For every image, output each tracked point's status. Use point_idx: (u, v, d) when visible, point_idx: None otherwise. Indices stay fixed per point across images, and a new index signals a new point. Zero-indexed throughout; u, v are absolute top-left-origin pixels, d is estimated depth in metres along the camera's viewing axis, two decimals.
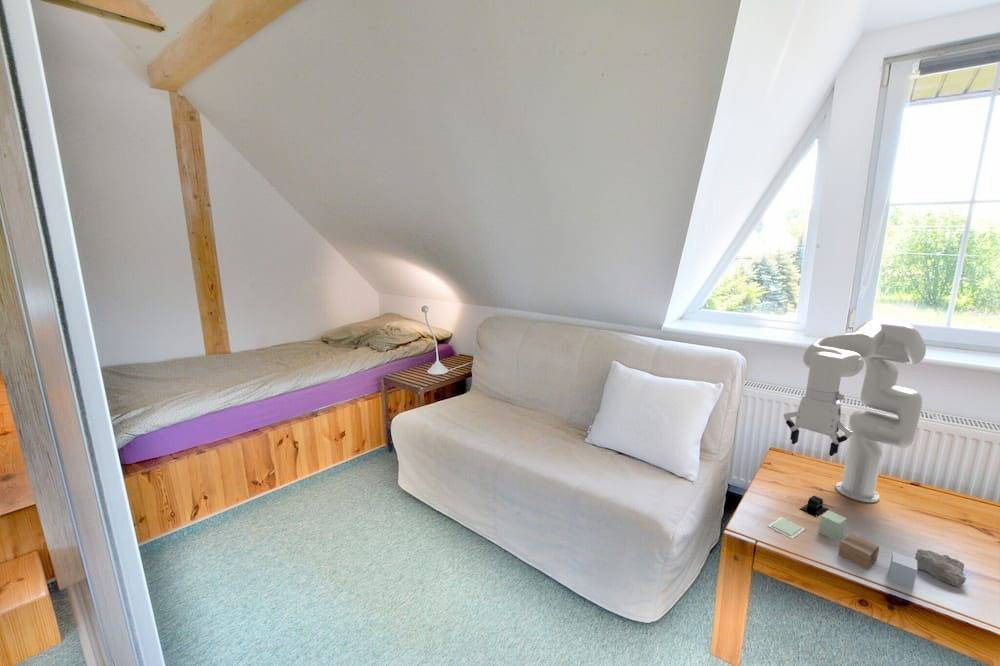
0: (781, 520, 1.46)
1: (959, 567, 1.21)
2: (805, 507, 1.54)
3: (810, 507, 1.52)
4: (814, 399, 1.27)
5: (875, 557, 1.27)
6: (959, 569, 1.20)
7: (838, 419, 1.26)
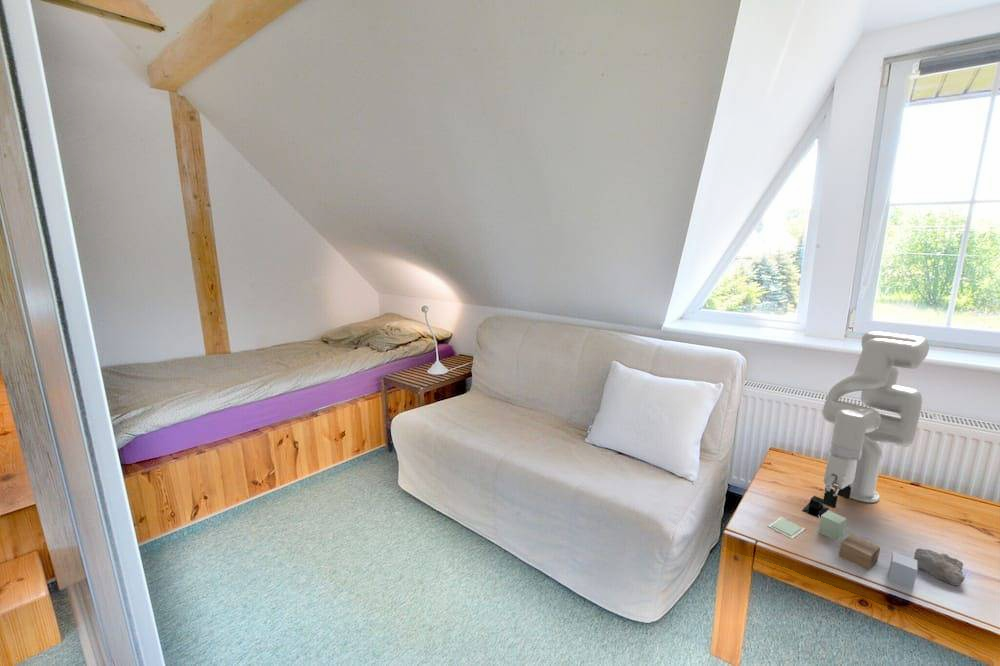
0: (781, 520, 1.46)
1: (957, 566, 1.21)
2: (807, 508, 1.53)
3: (812, 508, 1.52)
4: (858, 458, 1.31)
5: (876, 558, 1.27)
6: (958, 568, 1.21)
7: None
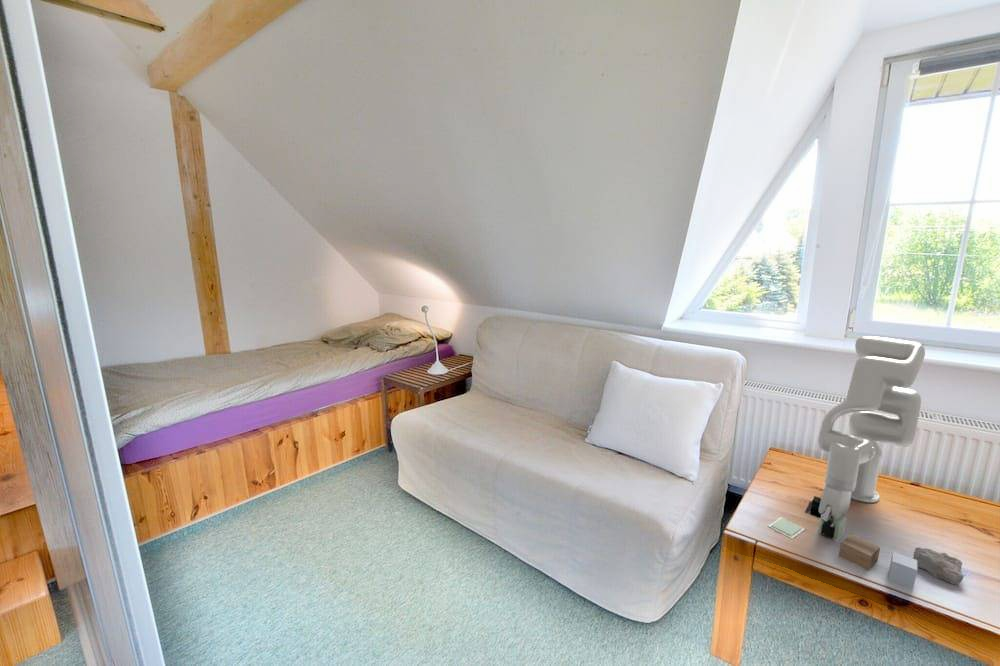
0: (781, 520, 1.46)
1: (956, 565, 1.21)
2: (809, 509, 1.52)
3: (814, 509, 1.51)
4: (853, 489, 1.33)
5: (876, 558, 1.27)
6: (957, 567, 1.21)
7: None
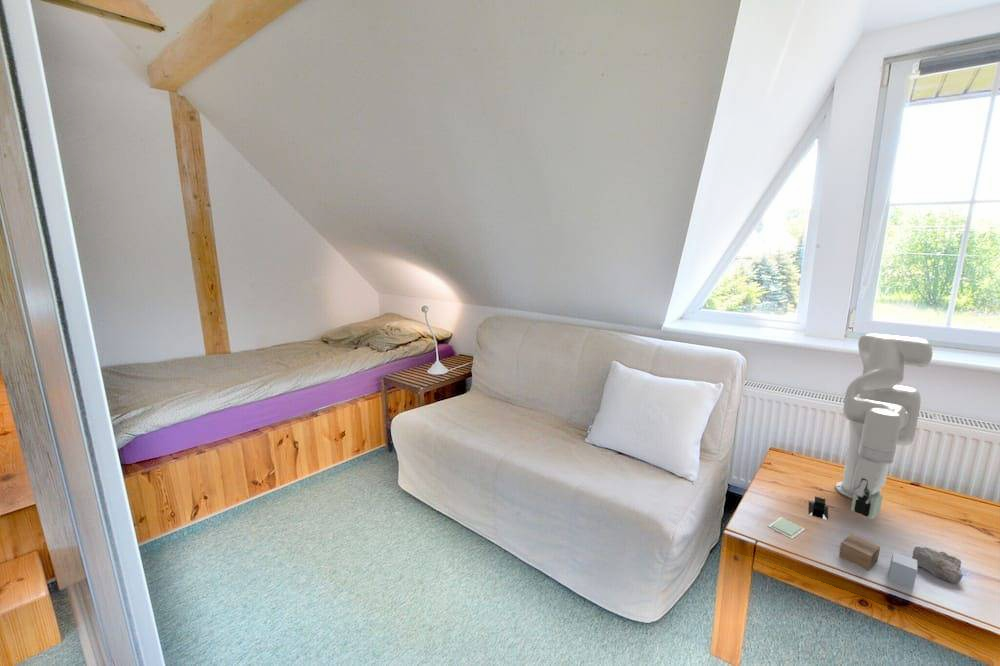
0: (781, 520, 1.46)
1: (955, 564, 1.22)
2: (811, 510, 1.52)
3: (817, 510, 1.51)
4: (891, 461, 1.20)
5: (876, 558, 1.27)
6: (956, 566, 1.21)
7: None
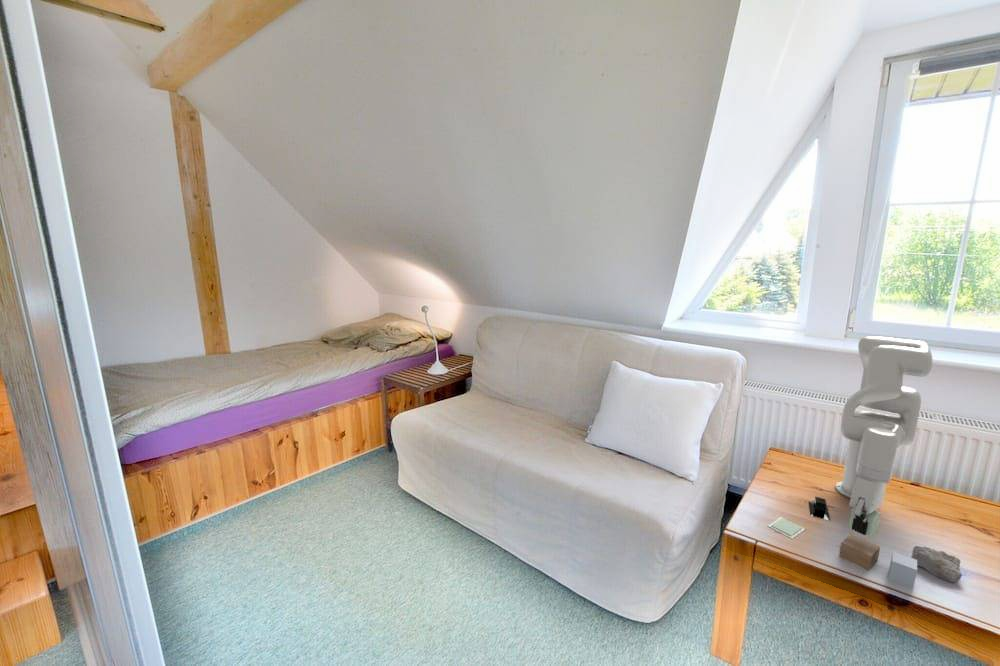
0: (781, 520, 1.46)
1: (955, 563, 1.22)
2: (812, 511, 1.51)
3: (818, 510, 1.50)
4: (888, 480, 1.21)
5: (876, 558, 1.27)
6: (955, 565, 1.22)
7: None
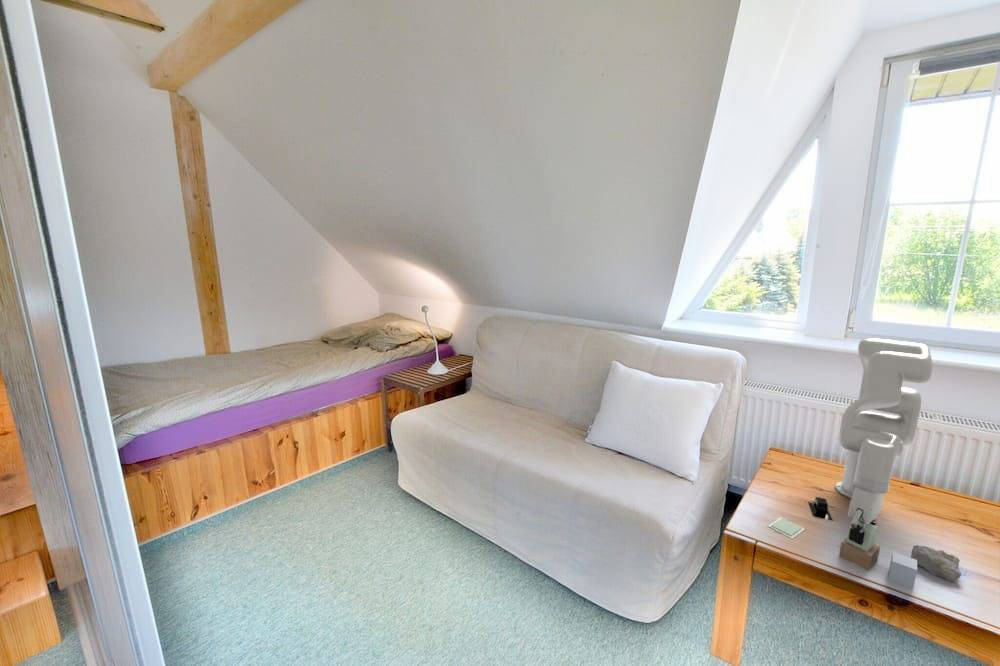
0: (781, 520, 1.46)
1: (954, 562, 1.22)
2: (814, 511, 1.51)
3: (820, 510, 1.50)
4: (886, 491, 1.21)
5: (876, 558, 1.27)
6: (954, 564, 1.22)
7: None
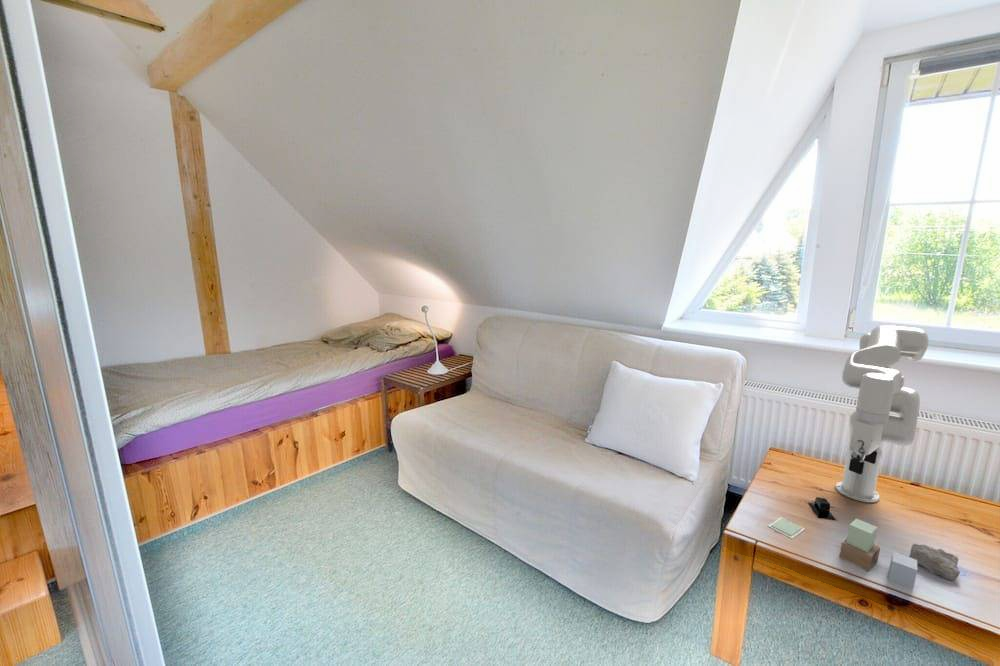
0: (781, 520, 1.46)
1: (953, 561, 1.23)
2: (817, 512, 1.51)
3: (823, 511, 1.50)
4: (886, 422, 1.27)
5: (876, 558, 1.27)
6: (953, 563, 1.22)
7: None
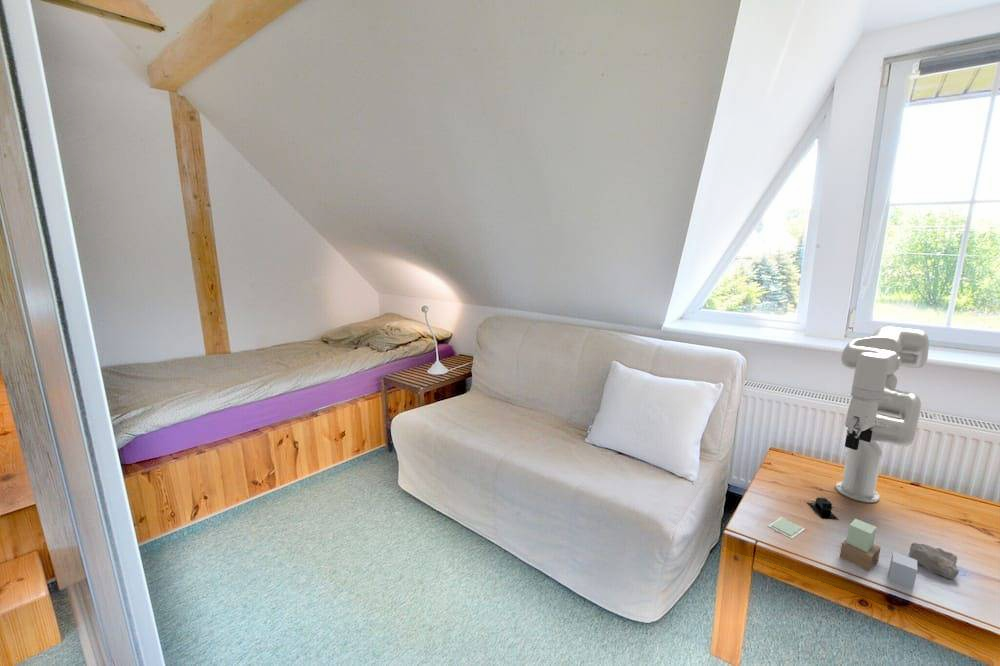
0: (781, 520, 1.46)
1: (952, 560, 1.23)
2: (819, 513, 1.50)
3: (825, 511, 1.50)
4: (880, 399, 1.32)
5: (876, 558, 1.27)
6: (952, 562, 1.23)
7: None
